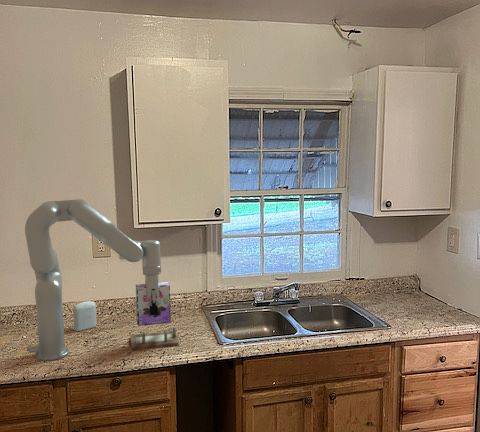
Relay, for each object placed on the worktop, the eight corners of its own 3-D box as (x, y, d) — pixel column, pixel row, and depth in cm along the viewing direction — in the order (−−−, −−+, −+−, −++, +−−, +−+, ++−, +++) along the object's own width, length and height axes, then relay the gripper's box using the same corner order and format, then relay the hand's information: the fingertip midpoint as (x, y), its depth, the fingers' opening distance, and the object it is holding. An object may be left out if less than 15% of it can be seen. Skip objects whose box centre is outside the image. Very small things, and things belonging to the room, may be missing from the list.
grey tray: (131, 350, 197) (131, 337, 196) (130, 337, 210) (130, 326, 210) (178, 345, 202) (178, 333, 201) (174, 333, 215) (174, 322, 214)
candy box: (137, 326, 200) (135, 287, 198) (136, 321, 206) (135, 283, 204) (171, 323, 204) (170, 284, 202) (169, 318, 210) (168, 281, 208)
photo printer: (93, 324, 228) (92, 298, 227) (98, 326, 225) (97, 300, 224) (72, 330, 221) (71, 303, 220) (77, 332, 218) (75, 305, 216)
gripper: (141, 266, 210) (143, 307, 212) (143, 275, 193) (145, 319, 195) (159, 265, 212) (160, 305, 214) (162, 274, 195) (164, 318, 197)
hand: (153, 311), depth 205 cm, fingers closed on candy box, 5 cm apart
